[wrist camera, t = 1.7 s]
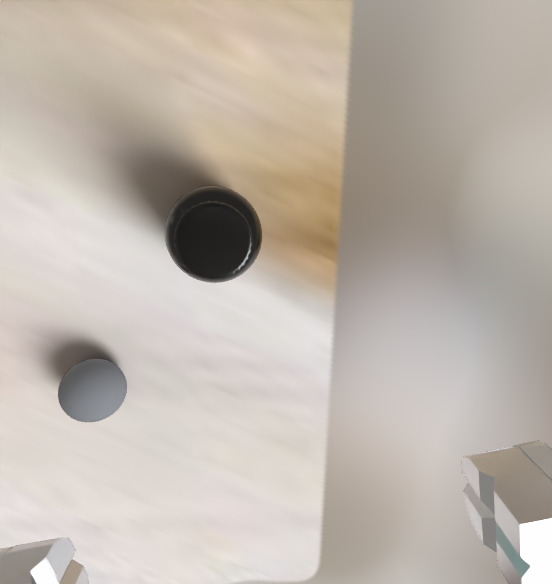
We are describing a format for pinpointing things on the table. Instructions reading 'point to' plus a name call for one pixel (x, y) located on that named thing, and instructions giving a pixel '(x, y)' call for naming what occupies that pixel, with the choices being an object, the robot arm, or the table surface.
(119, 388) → the charcoal ball
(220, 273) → the supplement bottle
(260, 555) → the table surface
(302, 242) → the table surface
